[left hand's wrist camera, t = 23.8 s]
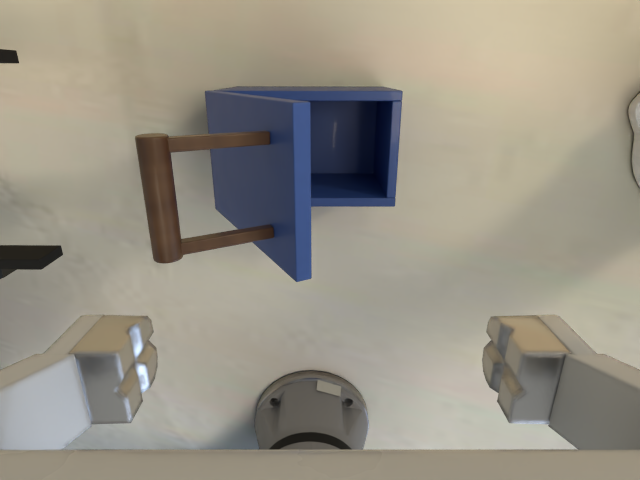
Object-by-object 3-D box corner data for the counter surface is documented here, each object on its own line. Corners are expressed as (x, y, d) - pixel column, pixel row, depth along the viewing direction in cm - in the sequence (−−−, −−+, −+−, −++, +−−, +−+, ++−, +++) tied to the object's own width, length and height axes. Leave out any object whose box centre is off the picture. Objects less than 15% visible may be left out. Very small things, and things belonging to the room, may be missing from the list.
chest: (384, 86, 44) (402, 90, 34) (379, 178, 47) (394, 206, 37) (236, 86, 44) (212, 90, 34) (242, 178, 47) (222, 206, 37)
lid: (310, 101, 21) (139, 107, 17) (311, 278, 24) (169, 313, 21) (217, 90, 34) (108, 92, 30) (226, 207, 37) (129, 221, 34)
